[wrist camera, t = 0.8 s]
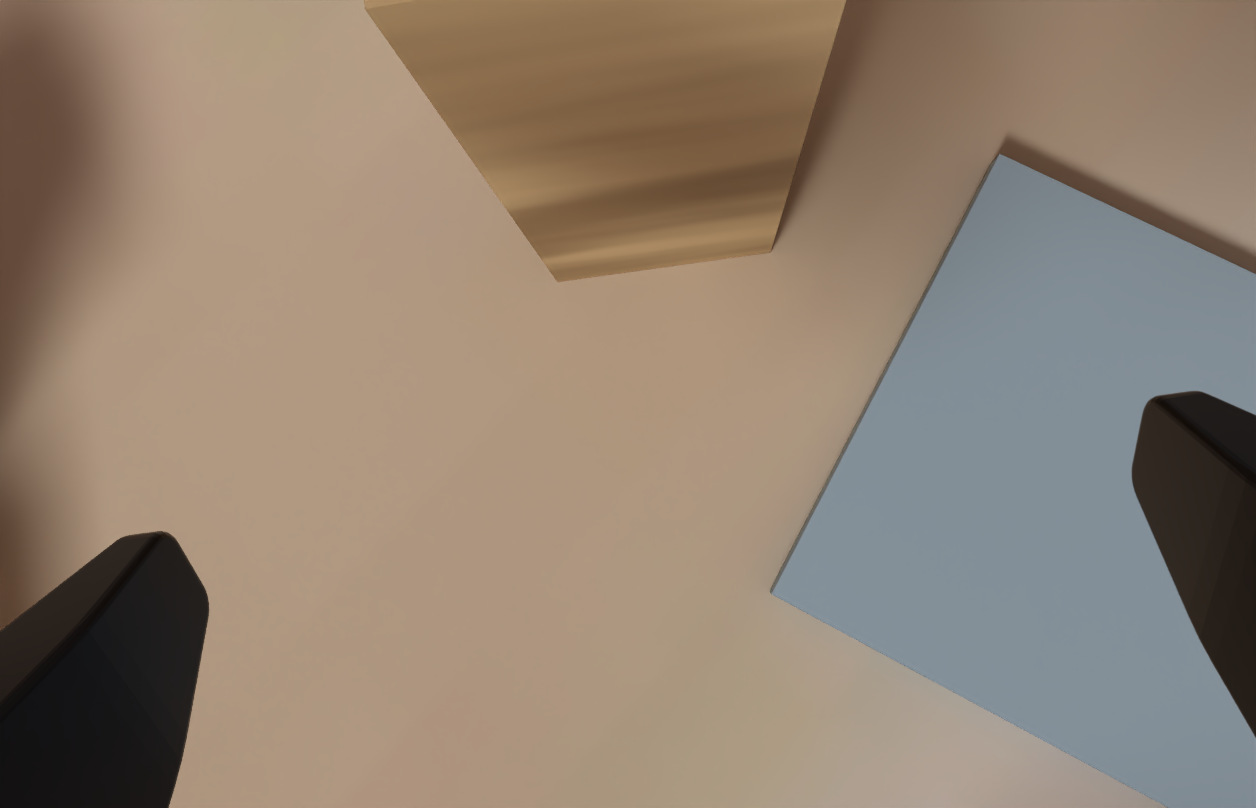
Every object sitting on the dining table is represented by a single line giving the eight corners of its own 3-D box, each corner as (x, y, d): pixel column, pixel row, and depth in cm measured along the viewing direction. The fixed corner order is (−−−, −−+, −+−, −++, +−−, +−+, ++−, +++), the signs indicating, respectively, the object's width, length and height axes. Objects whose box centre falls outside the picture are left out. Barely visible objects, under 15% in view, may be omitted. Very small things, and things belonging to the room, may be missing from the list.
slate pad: (1324, 889, 20) (1343, 902, 20) (769, 591, 22) (771, 594, 21) (1550, 426, 21) (1575, 424, 20) (991, 162, 22) (999, 153, 21)
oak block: (770, 252, 22) (868, -72, 9) (557, 282, 23) (365, 9, 10) (741, 46, 23) (796, -536, 10) (533, 78, 23) (318, -445, 10)
